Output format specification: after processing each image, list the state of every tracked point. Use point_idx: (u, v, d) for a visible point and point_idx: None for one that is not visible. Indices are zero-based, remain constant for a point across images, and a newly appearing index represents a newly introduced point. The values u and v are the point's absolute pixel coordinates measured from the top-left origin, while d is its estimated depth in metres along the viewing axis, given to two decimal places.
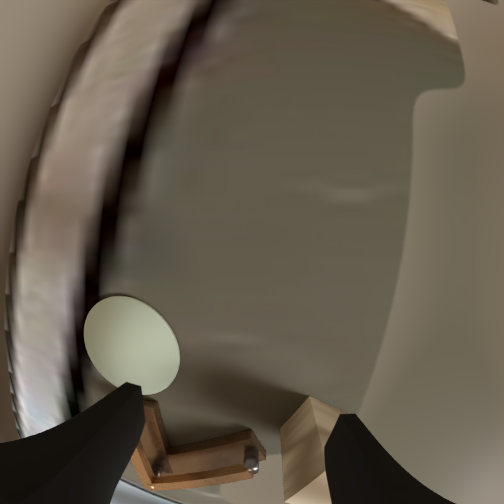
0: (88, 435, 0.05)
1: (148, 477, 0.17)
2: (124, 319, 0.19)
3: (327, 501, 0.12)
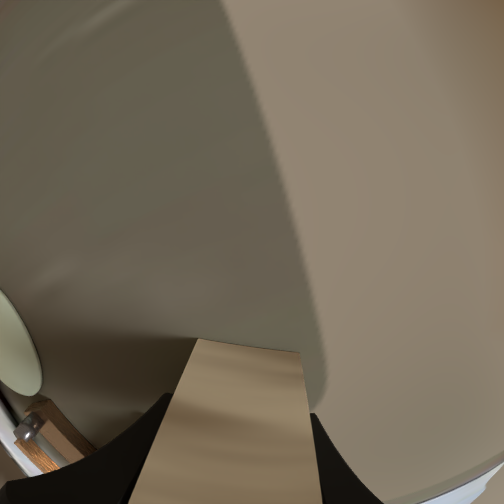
0: (139, 454, 0.05)
1: None
2: None
3: None
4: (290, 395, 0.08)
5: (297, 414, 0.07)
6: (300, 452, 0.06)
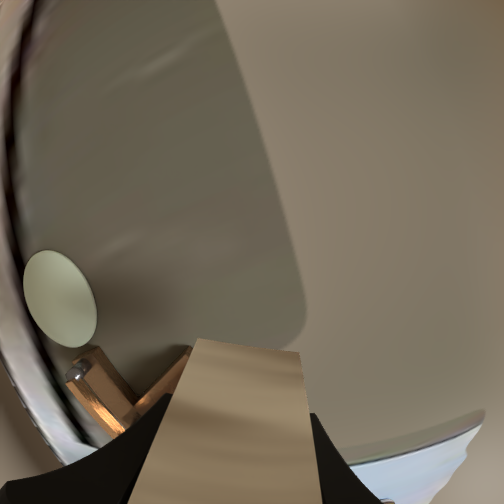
0: (139, 454, 0.05)
1: (116, 434, 0.17)
2: (42, 274, 0.18)
3: None
4: (290, 395, 0.08)
5: (297, 414, 0.07)
6: (300, 452, 0.06)
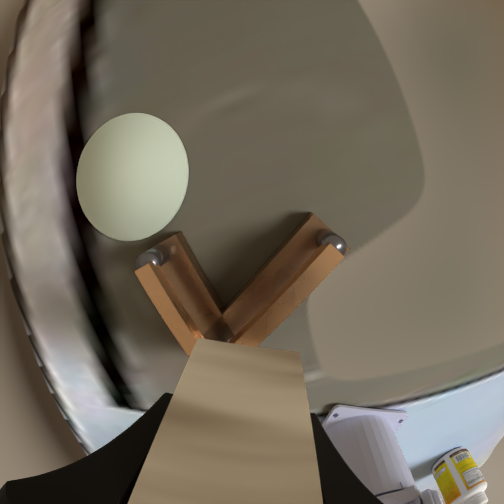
0: (139, 454, 0.05)
1: None
2: (113, 143, 0.16)
3: None
4: (291, 395, 0.08)
5: (297, 413, 0.07)
6: (300, 452, 0.06)
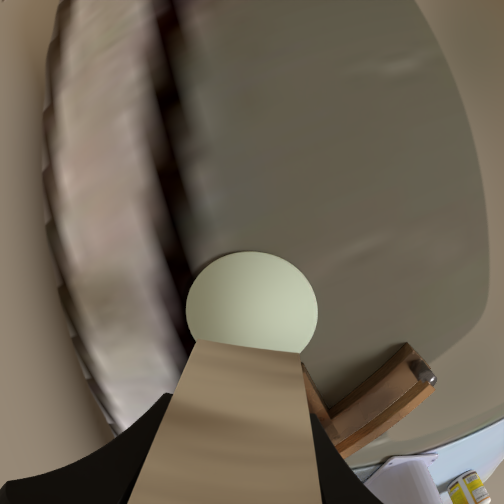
0: (139, 454, 0.05)
1: None
2: (235, 283, 0.17)
3: None
4: (290, 396, 0.08)
5: (297, 415, 0.07)
6: (300, 453, 0.06)
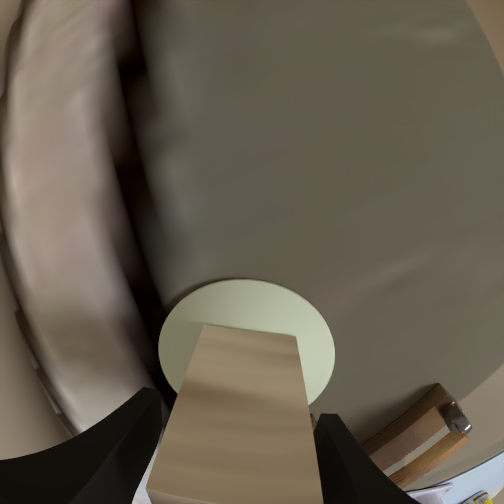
0: (111, 444, 0.05)
1: None
2: (222, 322, 0.12)
3: None
4: (288, 374, 0.09)
5: (295, 390, 0.09)
6: (298, 422, 0.07)
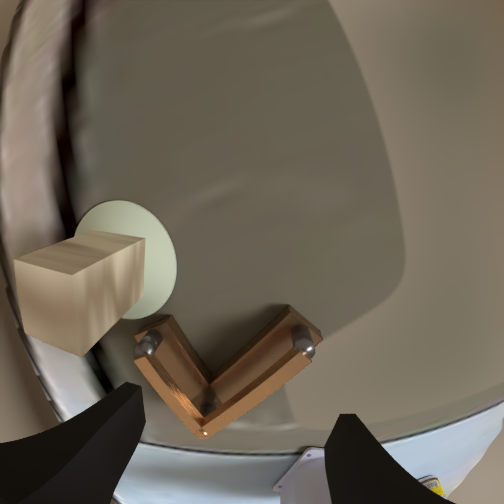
0: (88, 436, 0.05)
1: (193, 419, 0.16)
2: (104, 229, 0.18)
3: (54, 328, 0.10)
4: (119, 245, 0.15)
5: (114, 249, 0.14)
6: (99, 256, 0.13)
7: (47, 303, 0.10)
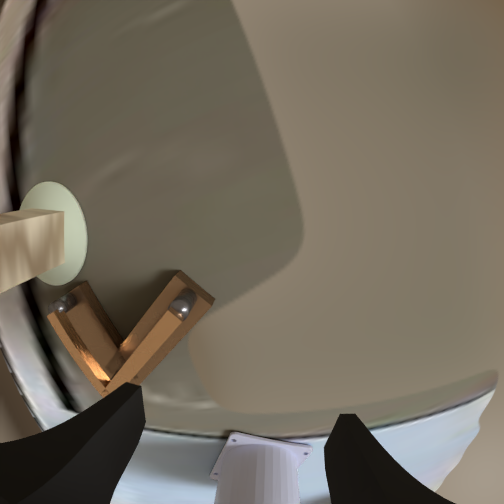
0: (88, 435, 0.05)
1: (97, 378, 0.17)
2: (37, 207, 0.18)
3: None
4: (36, 215, 0.15)
5: (29, 216, 0.14)
6: (14, 220, 0.13)
7: None
